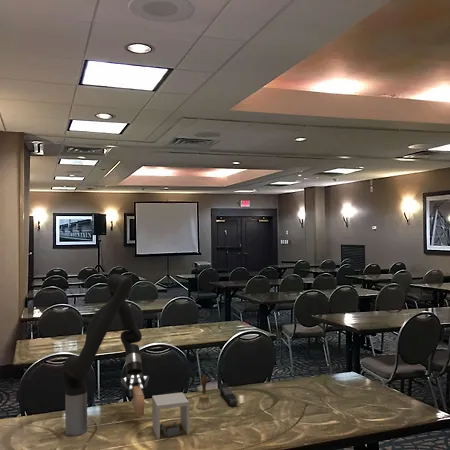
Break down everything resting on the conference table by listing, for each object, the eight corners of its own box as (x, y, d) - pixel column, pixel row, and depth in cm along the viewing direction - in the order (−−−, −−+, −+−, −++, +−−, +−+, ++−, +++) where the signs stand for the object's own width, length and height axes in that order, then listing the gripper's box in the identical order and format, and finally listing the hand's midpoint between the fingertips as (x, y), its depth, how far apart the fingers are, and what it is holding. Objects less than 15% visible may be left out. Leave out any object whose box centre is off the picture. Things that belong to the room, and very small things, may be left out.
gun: (225, 393, 263) (226, 377, 260) (236, 417, 245) (238, 401, 242) (217, 394, 261) (218, 378, 258) (228, 418, 243) (230, 402, 240)
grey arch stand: (157, 438, 204) (157, 405, 205) (152, 426, 217) (152, 395, 218) (189, 434, 208) (189, 401, 209) (182, 422, 222) (182, 392, 222)
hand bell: (209, 402, 249) (209, 371, 249) (214, 408, 241) (213, 376, 241) (194, 404, 246) (193, 373, 246) (198, 410, 238) (197, 377, 239)
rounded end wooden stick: (144, 415, 210) (144, 397, 210) (136, 416, 209) (136, 397, 209) (139, 402, 227) (139, 385, 227) (131, 403, 226) (131, 386, 226)
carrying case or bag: (191, 402, 251) (179, 394, 264) (191, 396, 251) (179, 389, 264) (172, 406, 246) (161, 398, 259) (172, 400, 246) (161, 392, 259)
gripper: (119, 361, 229) (121, 395, 217) (149, 359, 234) (153, 392, 221) (118, 370, 234) (120, 403, 222) (147, 367, 238) (151, 400, 226)
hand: (136, 397), depth 222 cm, fingers closed on rounded end wooden stick, 3 cm apart
